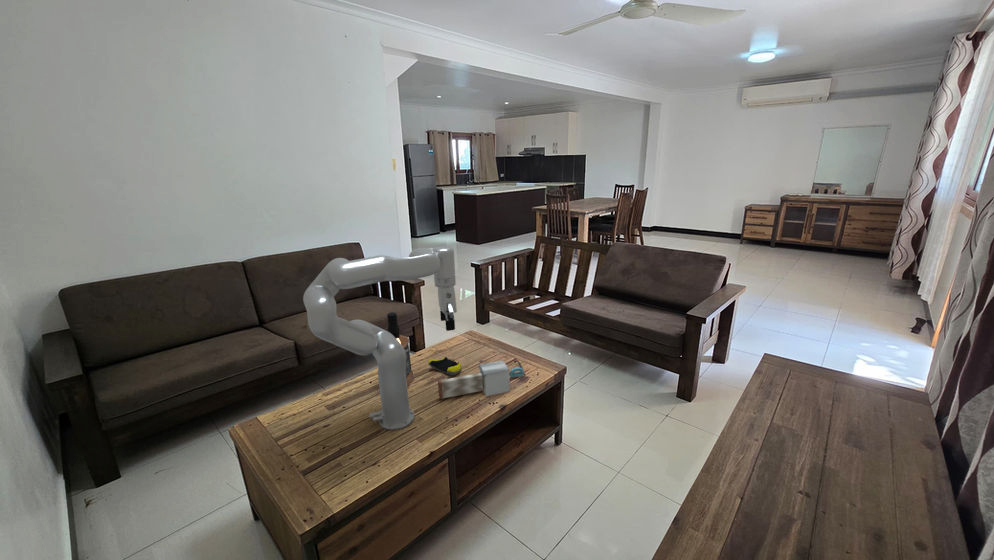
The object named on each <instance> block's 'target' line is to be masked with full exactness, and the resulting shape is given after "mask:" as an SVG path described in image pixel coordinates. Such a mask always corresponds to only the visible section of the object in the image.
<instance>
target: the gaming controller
mask: <svg viewBox="0 0 994 560" xmlns="http://www.w3.org/2000/svg"><path fill="white" fill-rule="evenodd" d="M428 366H429V367H431V369H432V368H433V369H435V370H437V371H439V372H441V371H442V373H445V374H447V375H449V376H454V375H456V374H458V373H460V372H461V371H462V362H461V361H458V362H456V360H455V361H454V360H452V359H449V357H448V356H445V357H443V358H442V359H435V358H432V359H429V360H428Z"/></svg>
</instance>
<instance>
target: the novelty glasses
mask: <svg viewBox="0 0 994 560" xmlns="http://www.w3.org/2000/svg"><path fill="white" fill-rule="evenodd" d="M513 362H514V363H516V362H517V363H518V366H516V367H513V368H512V369H511V370H509V378H515V377H518V378H522V376H524V375H525V371H524V368H523V366H522V364H521V362H520V361H519V360H517V359H516V360H513Z"/></svg>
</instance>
